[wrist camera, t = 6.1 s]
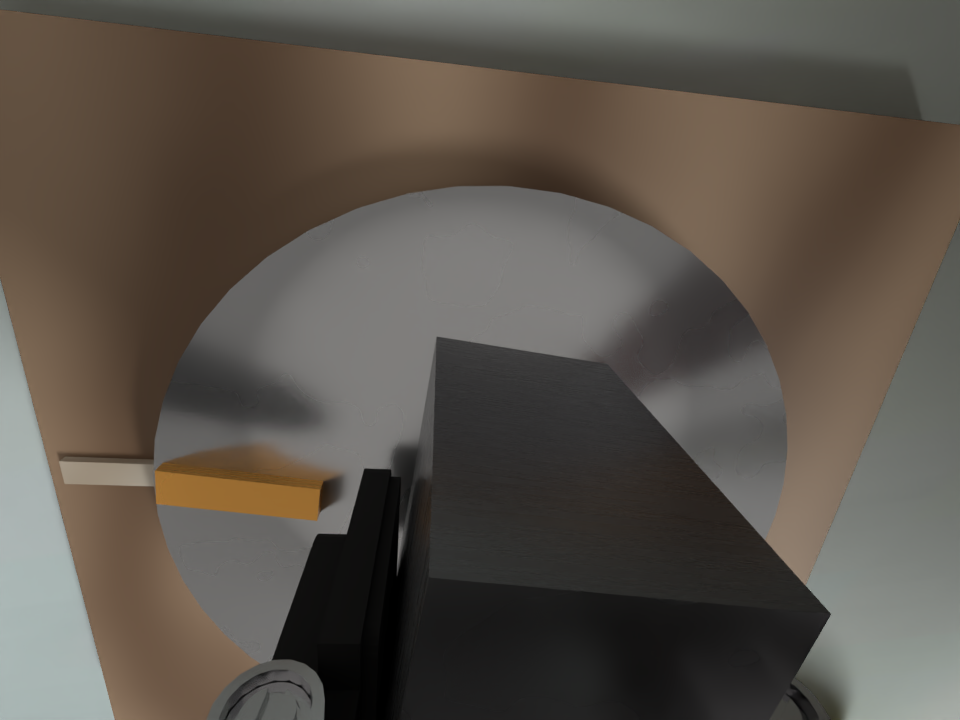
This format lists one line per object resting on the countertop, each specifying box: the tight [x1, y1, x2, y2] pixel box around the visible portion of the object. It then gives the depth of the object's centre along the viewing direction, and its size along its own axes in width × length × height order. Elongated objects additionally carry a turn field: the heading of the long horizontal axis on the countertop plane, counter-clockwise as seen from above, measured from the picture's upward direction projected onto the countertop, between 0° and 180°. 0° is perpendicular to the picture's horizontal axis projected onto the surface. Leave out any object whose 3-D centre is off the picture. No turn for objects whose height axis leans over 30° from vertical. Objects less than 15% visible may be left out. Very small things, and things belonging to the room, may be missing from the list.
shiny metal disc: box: [153, 186, 831, 720], centre depth 9 cm, size 14×14×7 cm
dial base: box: [0, 10, 960, 720], centre depth 13 cm, size 20×18×2 cm
